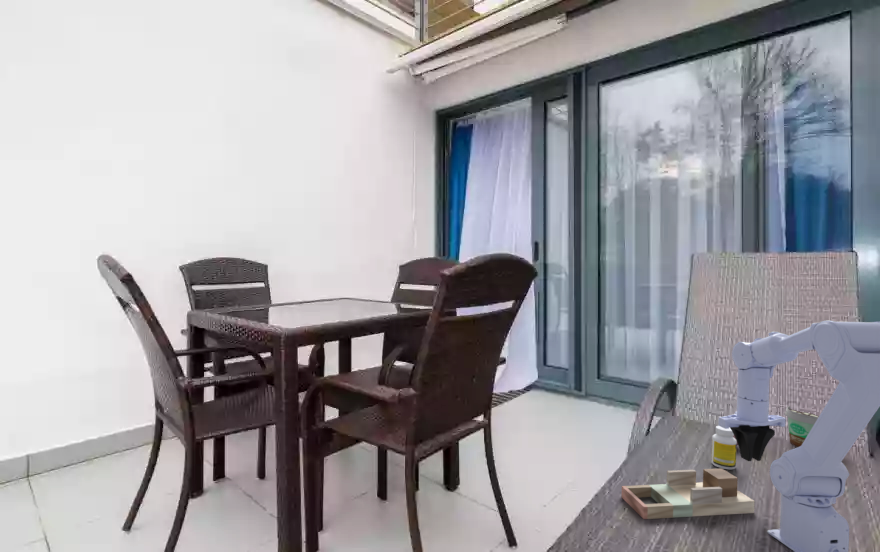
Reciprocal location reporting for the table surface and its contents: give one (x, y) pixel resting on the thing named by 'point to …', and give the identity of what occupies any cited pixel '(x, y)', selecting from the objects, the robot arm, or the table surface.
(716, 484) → the walnut block
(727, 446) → the supplement bottle
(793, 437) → the food container
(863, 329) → the robot arm
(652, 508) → the board
